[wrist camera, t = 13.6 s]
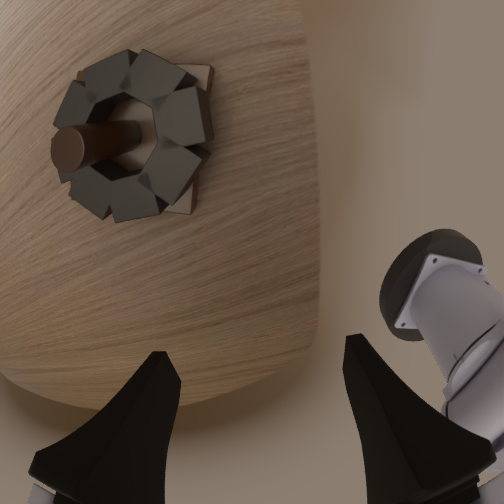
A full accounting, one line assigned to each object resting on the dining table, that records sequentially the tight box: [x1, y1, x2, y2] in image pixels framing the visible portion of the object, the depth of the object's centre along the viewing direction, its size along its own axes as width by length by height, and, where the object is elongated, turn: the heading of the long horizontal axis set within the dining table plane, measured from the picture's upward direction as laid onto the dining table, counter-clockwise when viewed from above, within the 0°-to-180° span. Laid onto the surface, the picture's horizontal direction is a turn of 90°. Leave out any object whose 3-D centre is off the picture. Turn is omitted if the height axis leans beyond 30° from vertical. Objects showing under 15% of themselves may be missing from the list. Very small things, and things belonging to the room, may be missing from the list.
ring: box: [51, 49, 214, 223], centre depth 13 cm, size 9×9×2 cm
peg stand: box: [51, 64, 214, 215], centre depth 12 cm, size 9×9×7 cm
